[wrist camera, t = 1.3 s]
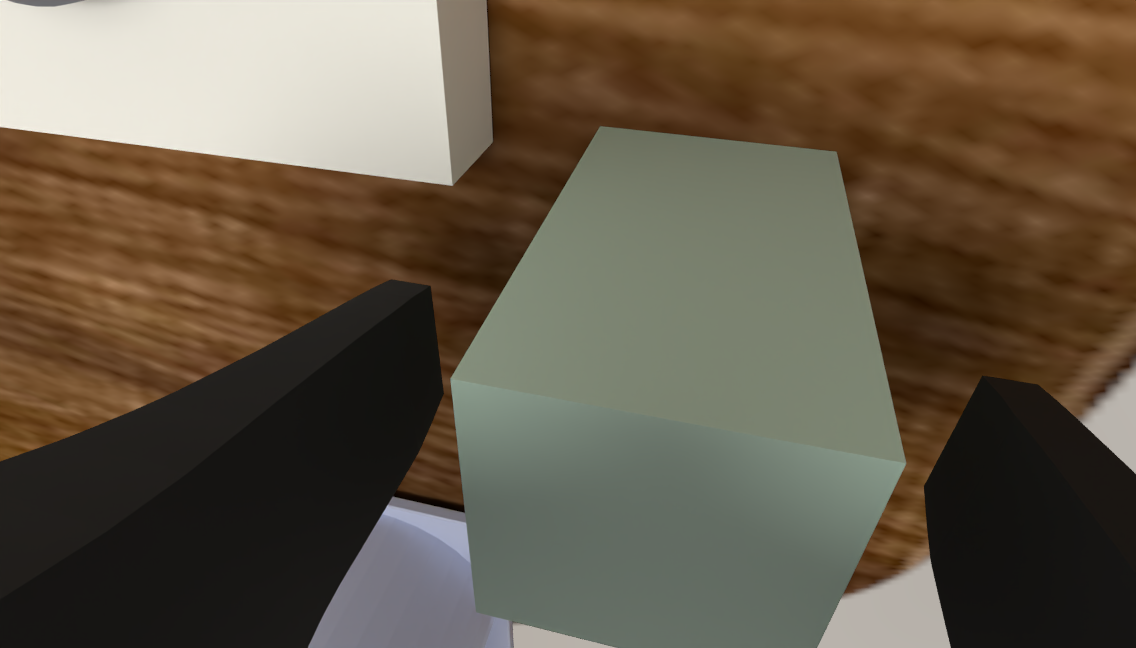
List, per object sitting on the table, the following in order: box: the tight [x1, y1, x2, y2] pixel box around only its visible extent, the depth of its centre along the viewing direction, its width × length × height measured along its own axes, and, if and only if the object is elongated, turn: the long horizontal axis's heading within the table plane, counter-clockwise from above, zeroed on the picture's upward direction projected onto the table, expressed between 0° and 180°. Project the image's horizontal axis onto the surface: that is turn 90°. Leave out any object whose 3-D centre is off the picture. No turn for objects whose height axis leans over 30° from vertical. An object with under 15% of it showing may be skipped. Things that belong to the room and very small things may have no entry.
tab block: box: [450, 126, 906, 648], centre depth 10 cm, size 4×4×7 cm
